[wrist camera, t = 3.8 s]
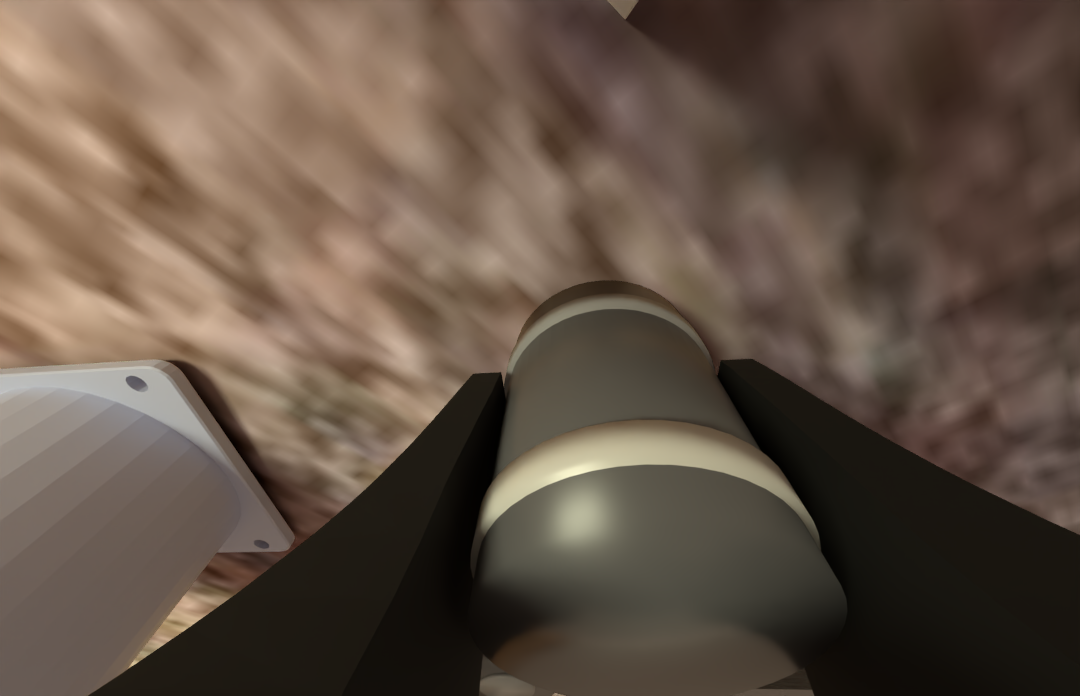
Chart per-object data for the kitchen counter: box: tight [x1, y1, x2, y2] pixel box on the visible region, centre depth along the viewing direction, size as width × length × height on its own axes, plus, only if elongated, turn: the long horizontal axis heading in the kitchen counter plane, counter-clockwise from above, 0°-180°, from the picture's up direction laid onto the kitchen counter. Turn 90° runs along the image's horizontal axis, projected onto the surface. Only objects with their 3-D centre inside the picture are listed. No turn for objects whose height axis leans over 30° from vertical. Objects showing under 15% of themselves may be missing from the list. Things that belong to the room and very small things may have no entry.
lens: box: [468, 281, 848, 696], centre depth 7 cm, size 5×5×6 cm
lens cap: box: [479, 655, 555, 696], centre depth 20 cm, size 5×5×1 cm
